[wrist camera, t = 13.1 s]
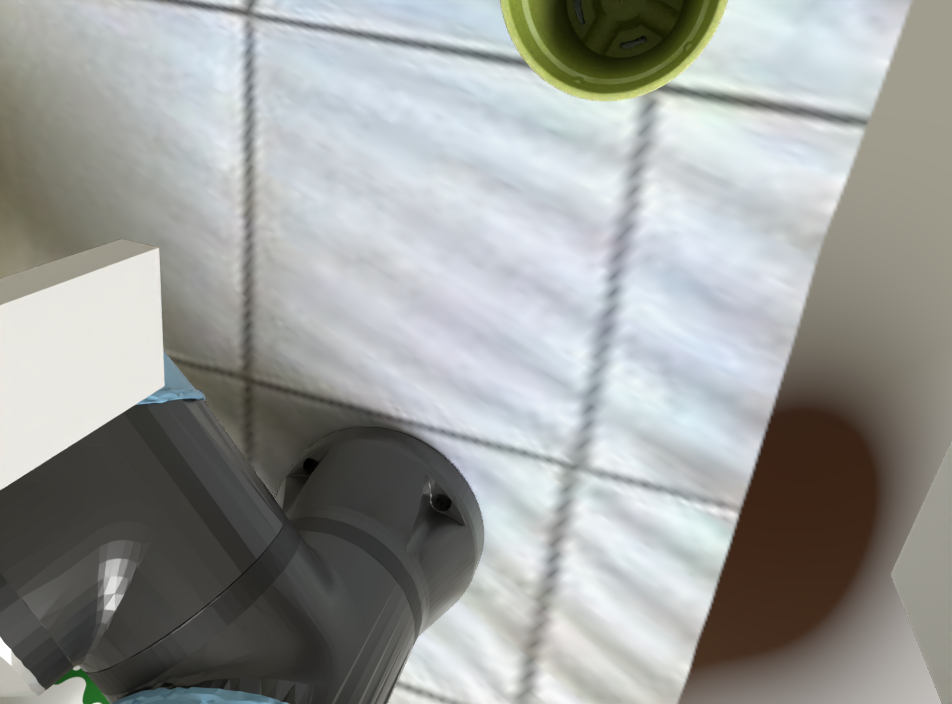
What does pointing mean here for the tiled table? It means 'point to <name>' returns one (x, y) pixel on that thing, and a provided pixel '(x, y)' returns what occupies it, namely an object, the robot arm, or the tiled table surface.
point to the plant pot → (611, 42)
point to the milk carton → (65, 692)
